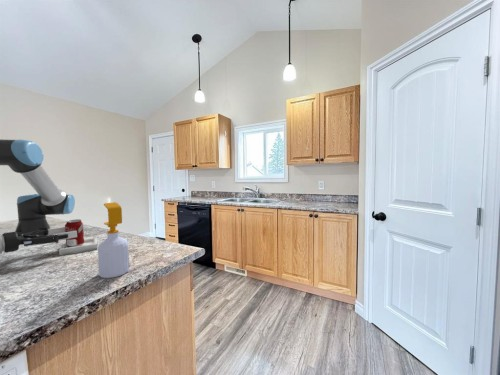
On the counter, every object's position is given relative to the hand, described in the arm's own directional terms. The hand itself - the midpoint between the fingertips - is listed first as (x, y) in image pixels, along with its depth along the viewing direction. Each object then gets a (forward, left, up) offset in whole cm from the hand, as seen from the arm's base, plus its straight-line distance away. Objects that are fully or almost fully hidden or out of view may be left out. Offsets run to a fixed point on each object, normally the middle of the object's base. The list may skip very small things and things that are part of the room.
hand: (71, 231), depth 103 cm
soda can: (-3, +1, -8) cm, 8 cm away
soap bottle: (+39, +15, -9) cm, 42 cm away
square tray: (-1, +3, -9) cm, 9 cm away
